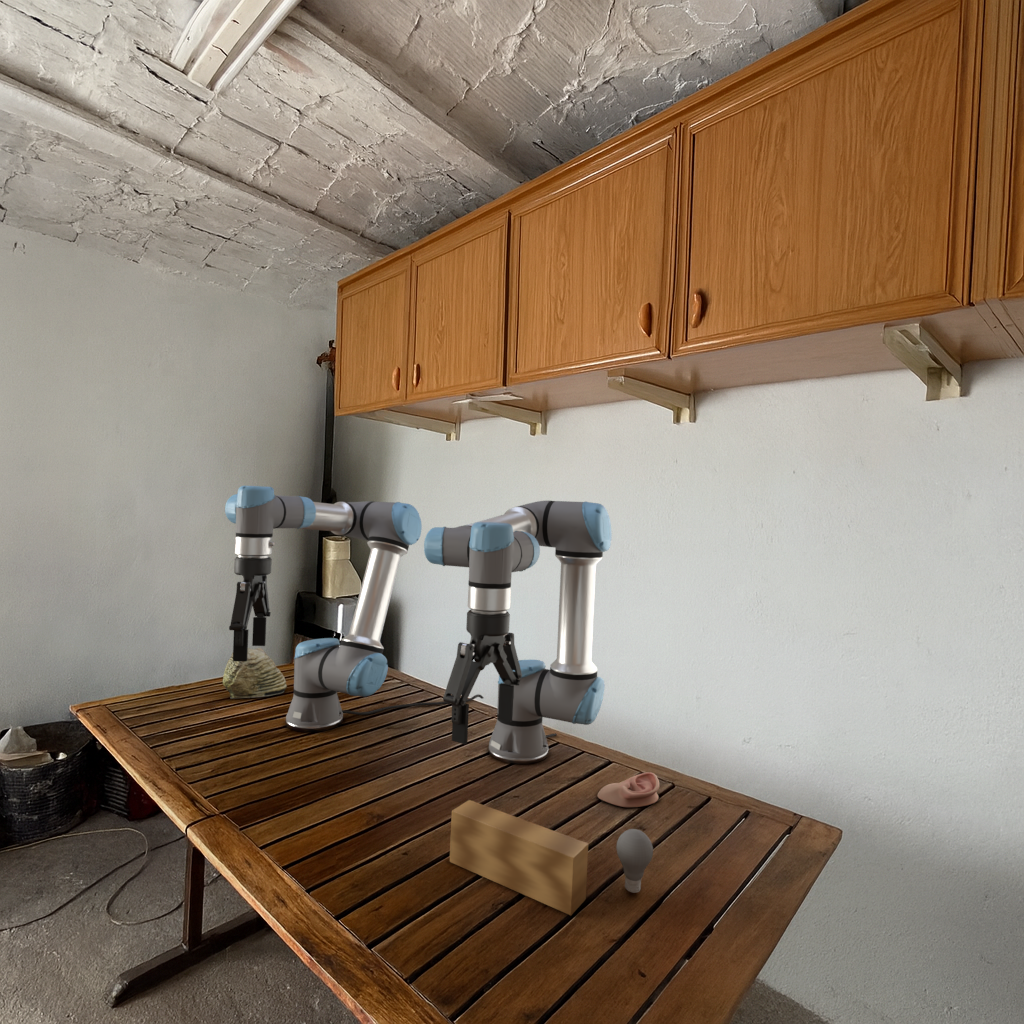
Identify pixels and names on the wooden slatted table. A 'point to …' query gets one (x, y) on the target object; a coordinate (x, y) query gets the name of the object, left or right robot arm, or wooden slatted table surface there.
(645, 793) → the anatomical model
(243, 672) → the fossil
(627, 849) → the light bulb
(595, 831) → the wooden slatted table surface
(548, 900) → the bar
